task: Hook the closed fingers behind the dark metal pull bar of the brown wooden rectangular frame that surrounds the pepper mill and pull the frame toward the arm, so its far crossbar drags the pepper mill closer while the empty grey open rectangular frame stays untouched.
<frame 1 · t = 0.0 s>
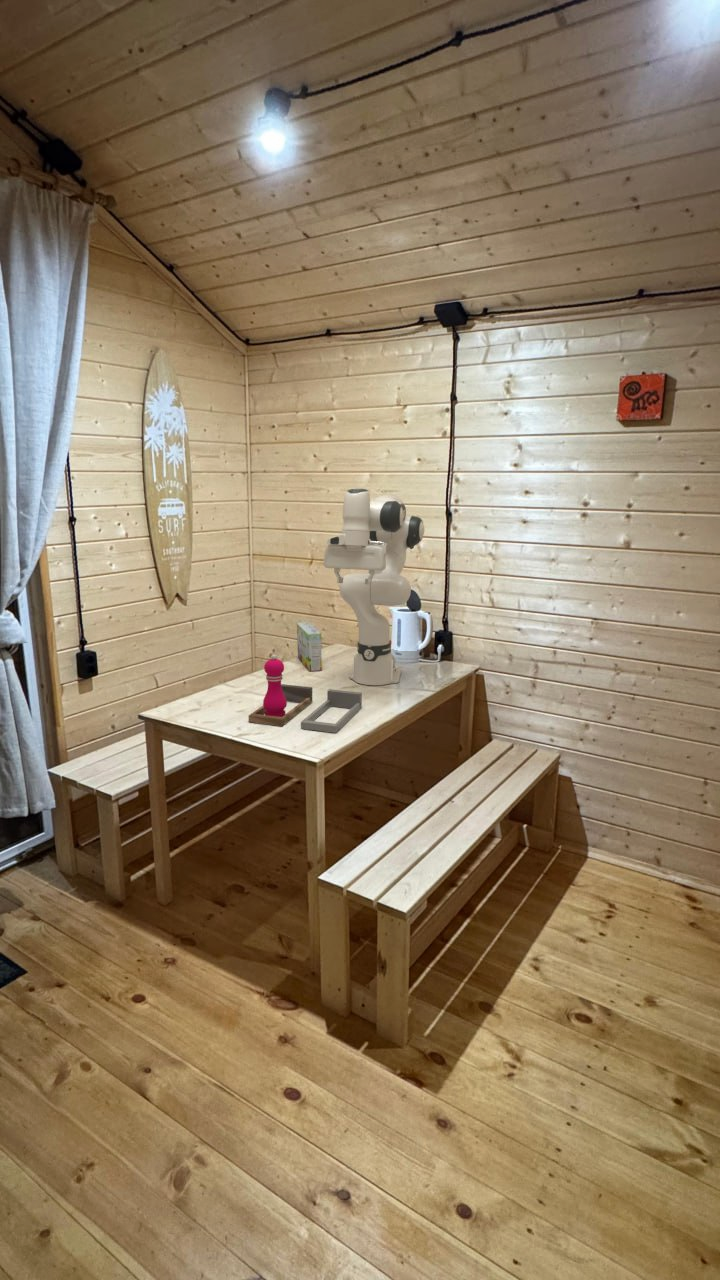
hand: (353, 583, 222), 39 cm above the table, fingers open, 8 cm apart
snack box: (309, 665, 273), on the table
pepper mill: (275, 717, 213), resting in brown wooden rectangular frame
grey open rectangular frame: (332, 709, 212), point 3 cm above the table, slide at 0.0 cm
brown wooden rectangular frame: (281, 703, 217), point 3 cm above the table, slide at 0.0 cm
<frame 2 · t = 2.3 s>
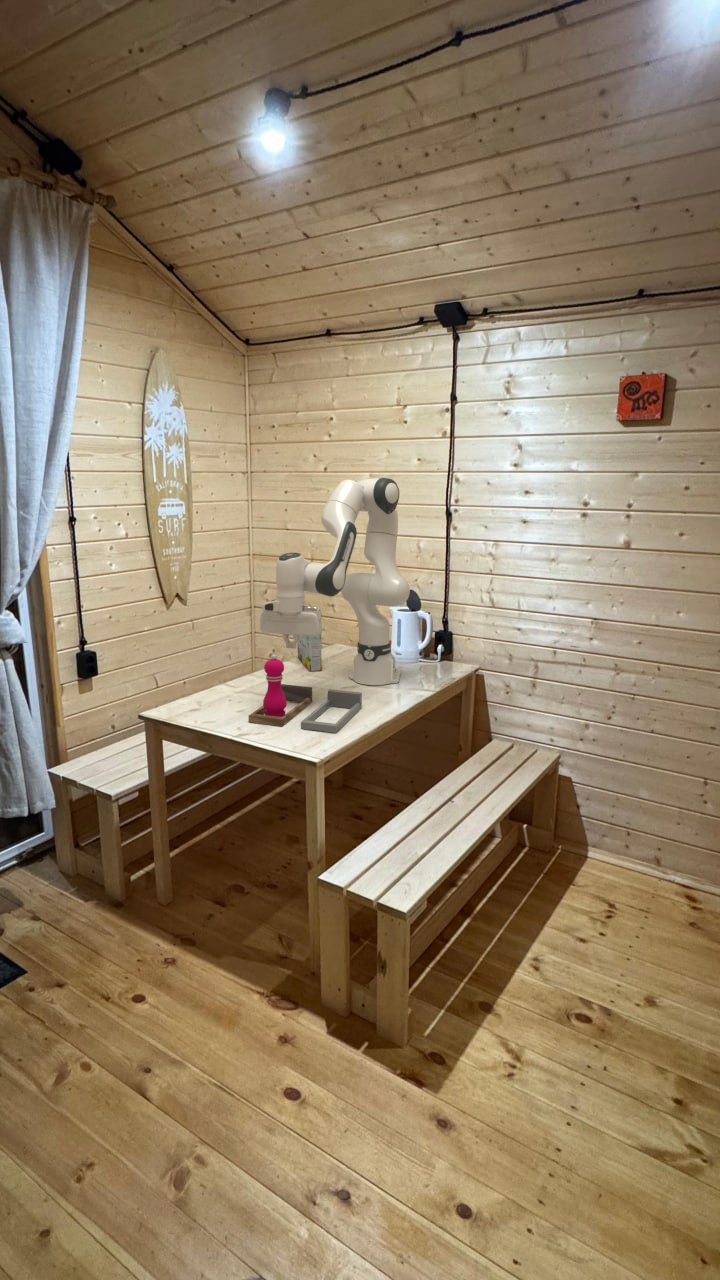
hand: (291, 647, 221), 19 cm above the table, fingers closed
nothing on the table moved.
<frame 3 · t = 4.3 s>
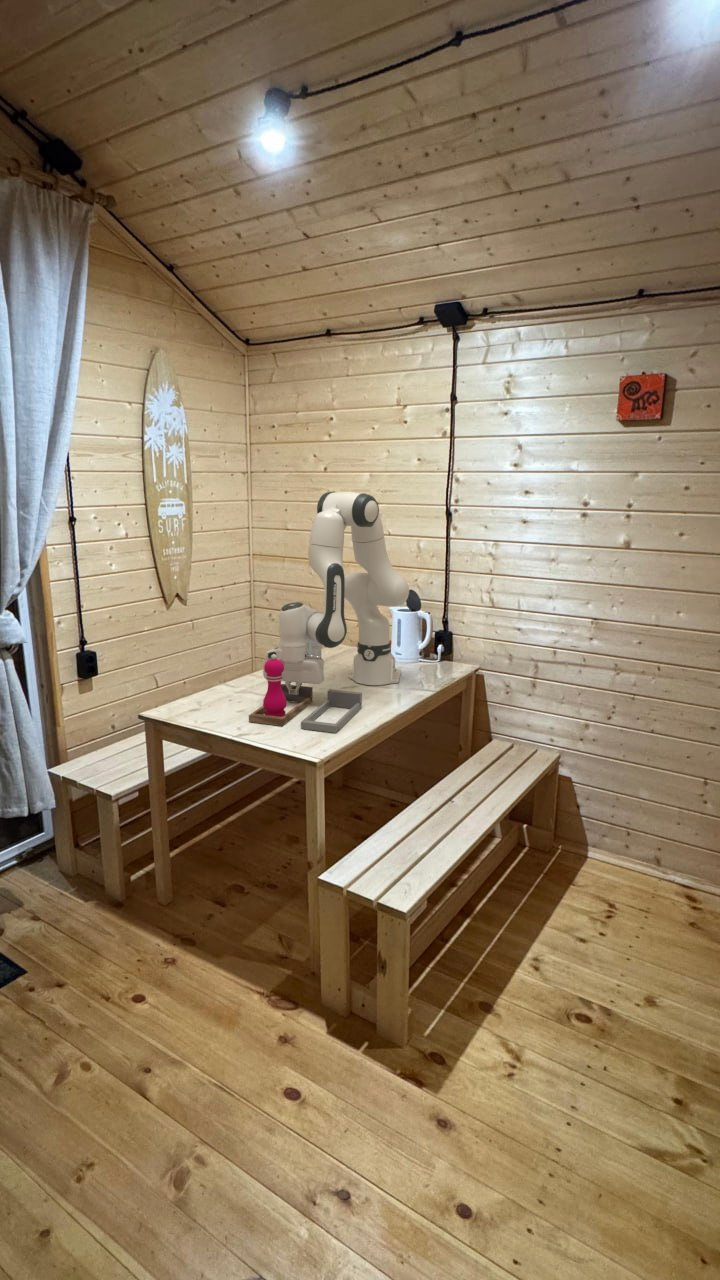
hand: (293, 694, 225), 3 cm above the table, fingers closed, pressing on brown wooden rectangular frame
brown wooden rectangular frame: (281, 703, 217), point 3 cm above the table, slide at 0.1 cm, touching gripper
everything else where it was.
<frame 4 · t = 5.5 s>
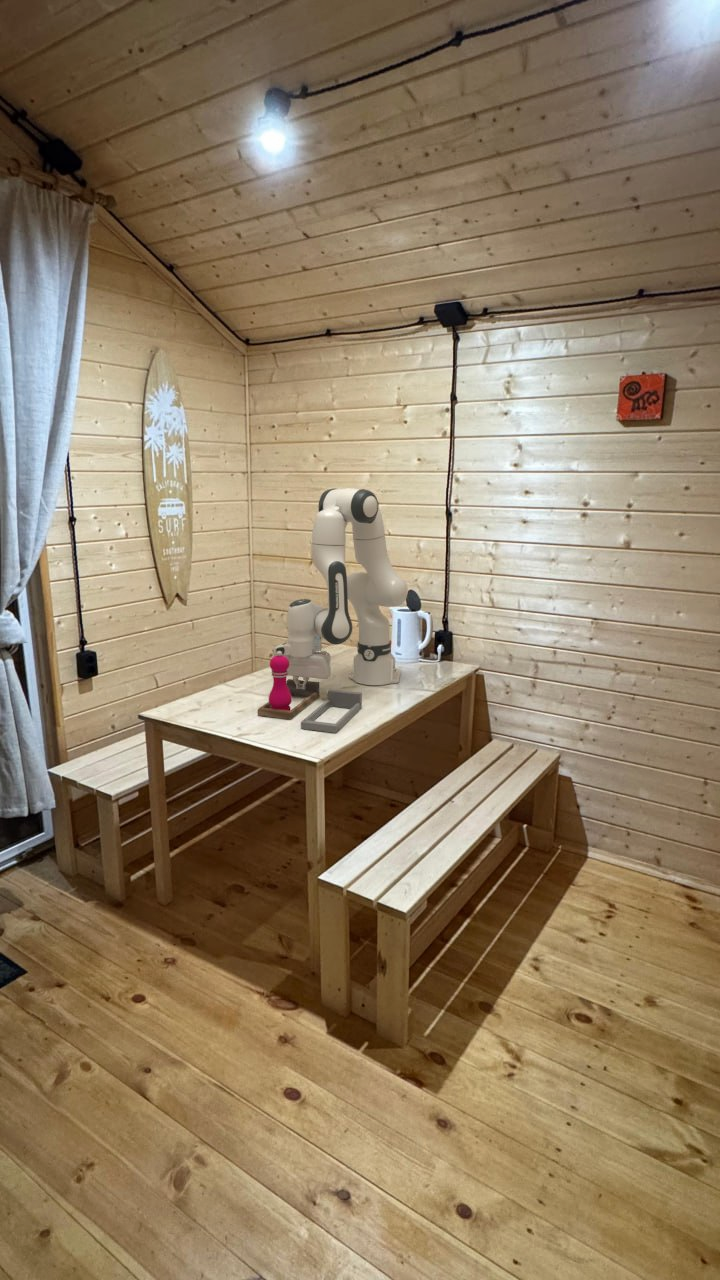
hand: (301, 688, 231), 3 cm above the table, fingers closed, pressing on brown wooden rectangular frame
pepper mill: (280, 713, 217), resting in brown wooden rectangular frame
brown wooden rectangular frame: (289, 698, 223), point 3 cm above the table, slide at 6.1 cm, touching gripper, pepper mill
everything else where it was.
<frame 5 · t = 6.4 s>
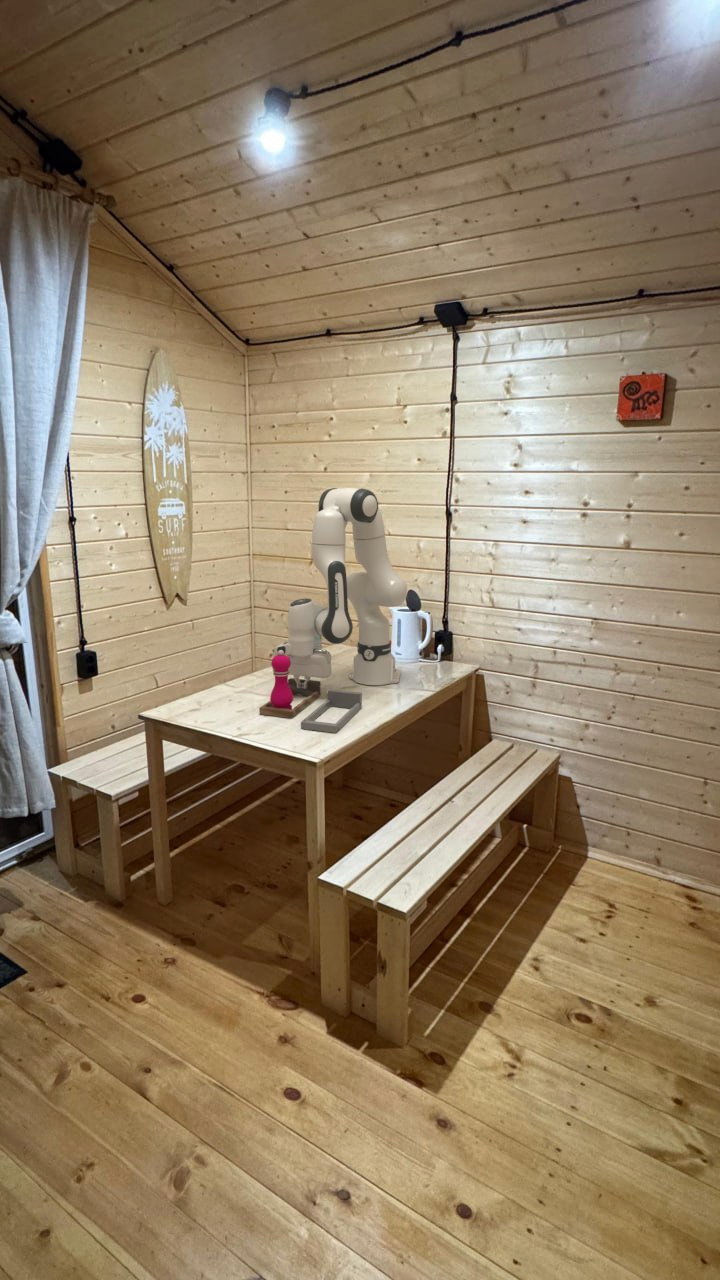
hand: (302, 687, 232), 3 cm above the table, fingers closed, pressing on brown wooden rectangular frame
pepper mill: (282, 712, 218), resting in brown wooden rectangular frame
brown wooden rectangular frame: (291, 697, 224), point 3 cm above the table, slide at 7.3 cm, touching gripper, pepper mill
everything else where it was.
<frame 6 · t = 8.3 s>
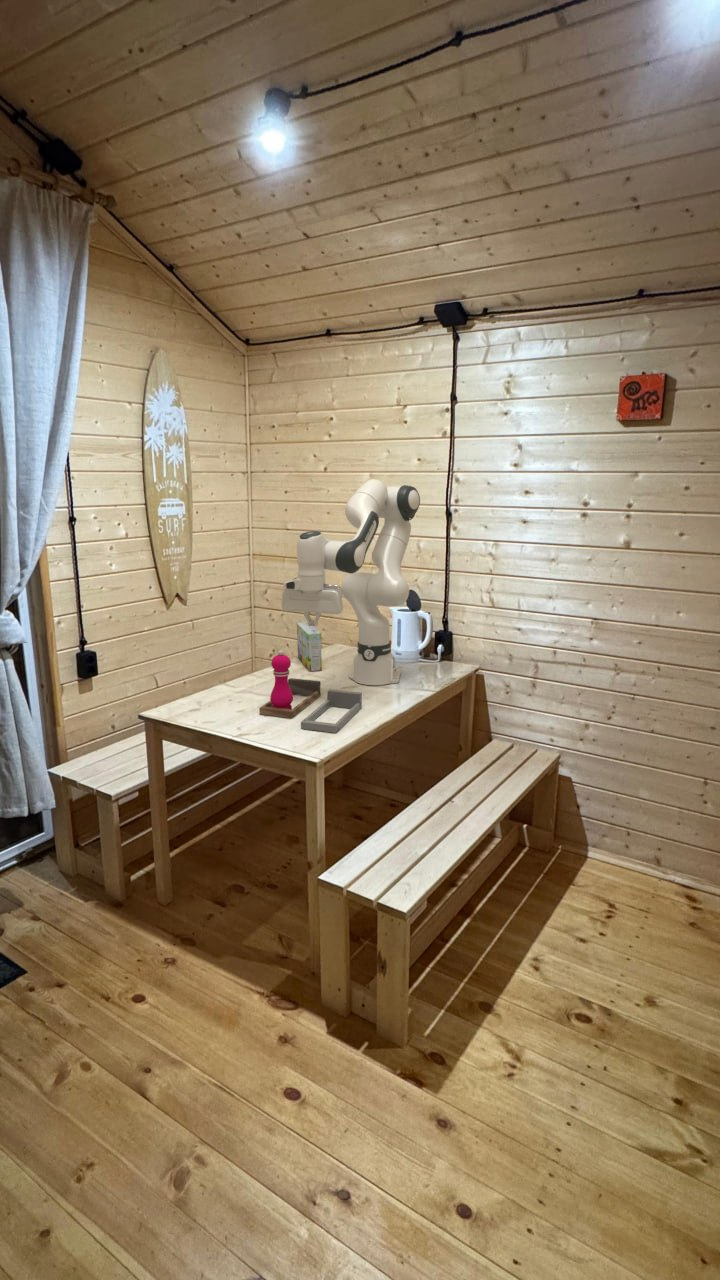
hand: (312, 625, 223), 25 cm above the table, fingers closed
pepper mill: (282, 712, 218), resting in brown wooden rectangular frame
brown wooden rectangular frame: (291, 697, 224), point 3 cm above the table, slide at 7.3 cm
everything else where it was.
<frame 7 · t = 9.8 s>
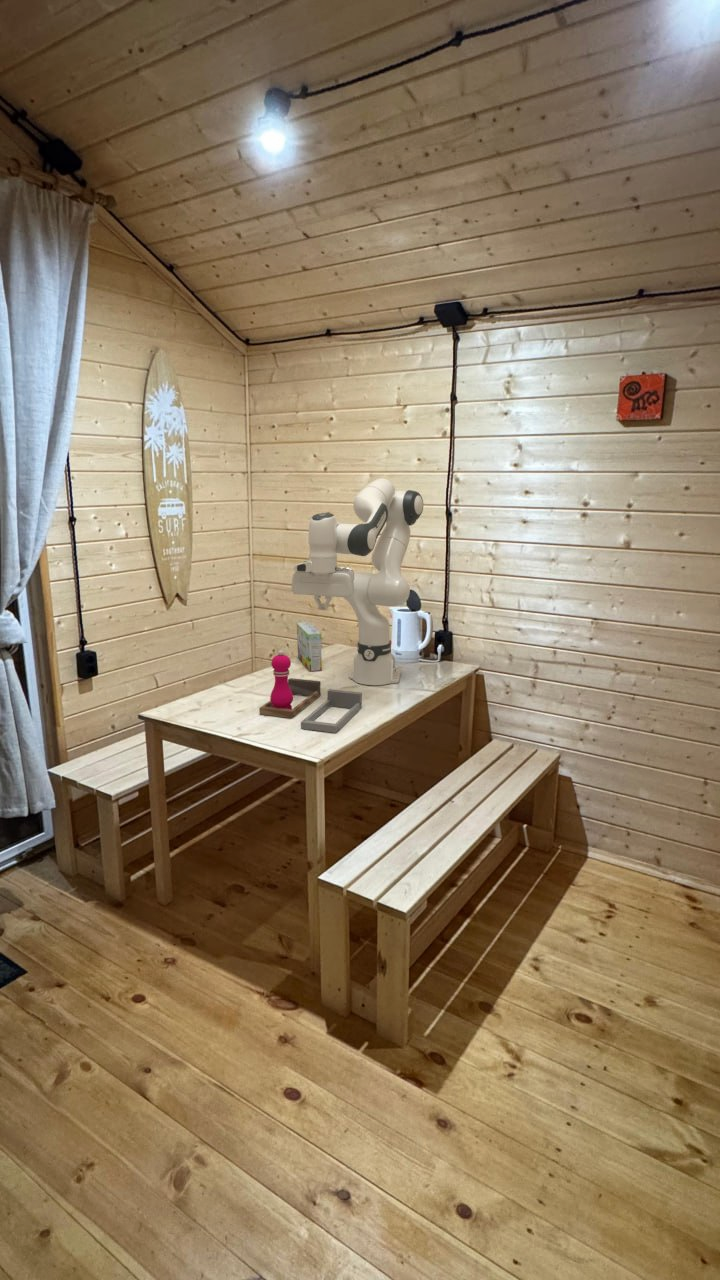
hand: (322, 609, 220), 31 cm above the table, fingers closed
nothing on the table moved.
at the end: brown wooden rectangular frame slide at 7.3 cm; pepper mill inside the target area (2.6 cm from its centre), resting in brown wooden rectangular frame; pepper mill tilted 0° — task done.
